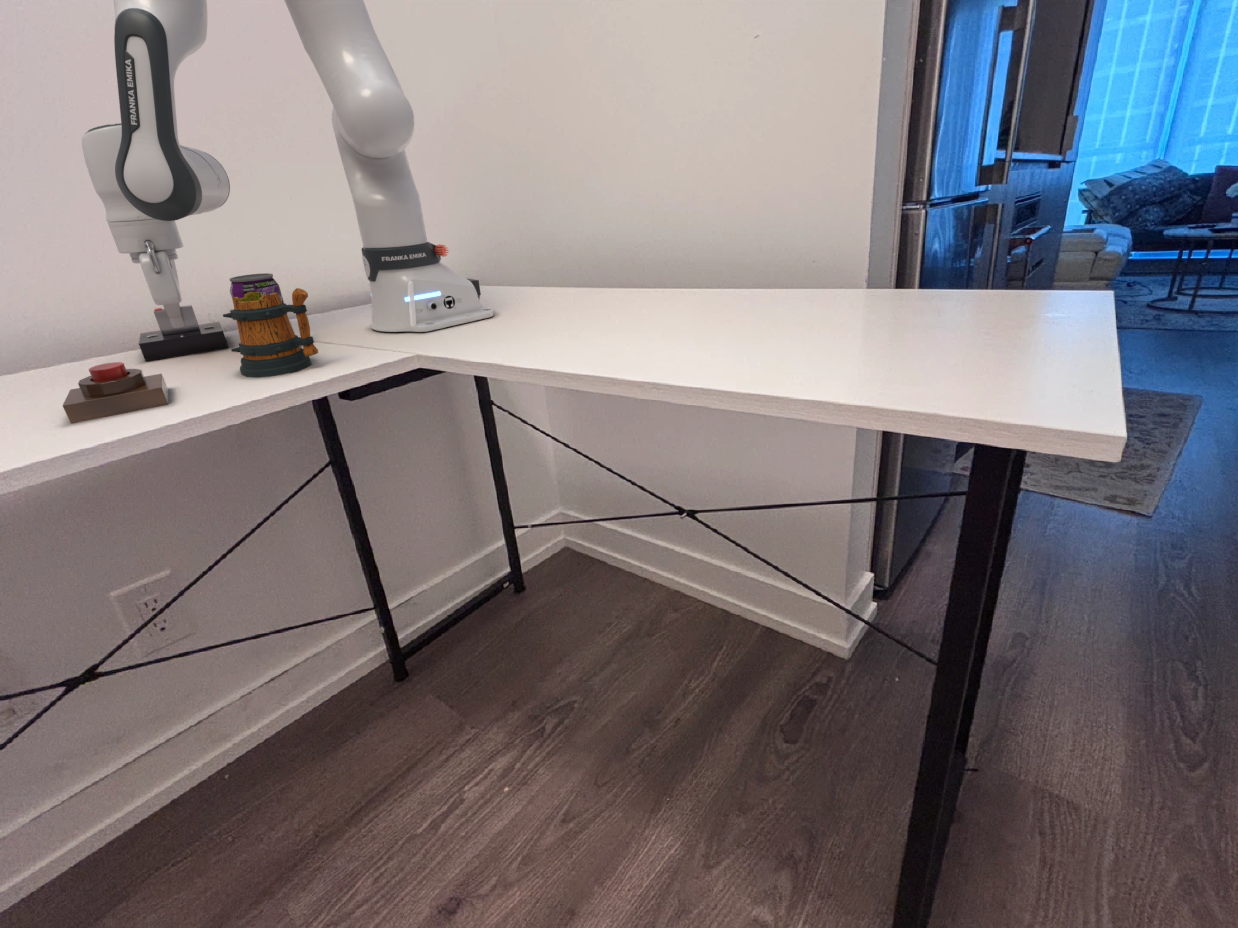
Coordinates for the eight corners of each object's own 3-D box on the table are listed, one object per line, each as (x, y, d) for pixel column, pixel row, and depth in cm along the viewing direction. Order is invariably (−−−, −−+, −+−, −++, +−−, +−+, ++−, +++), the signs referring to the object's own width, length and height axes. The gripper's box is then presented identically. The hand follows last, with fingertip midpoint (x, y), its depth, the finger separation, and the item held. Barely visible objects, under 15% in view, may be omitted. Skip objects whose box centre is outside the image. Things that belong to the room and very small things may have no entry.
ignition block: (168, 390, 86) (157, 362, 84) (168, 404, 80) (156, 374, 78) (77, 406, 81) (64, 377, 79) (70, 424, 75) (56, 392, 73)
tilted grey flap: (199, 328, 109) (191, 303, 107) (200, 329, 107) (191, 305, 106) (162, 333, 106) (153, 308, 104) (162, 335, 105) (152, 310, 103)
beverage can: (277, 356, 100) (254, 279, 95) (239, 356, 102) (215, 280, 96) (305, 344, 106) (285, 272, 101) (269, 344, 108) (248, 273, 103)
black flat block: (224, 337, 115) (218, 320, 113) (228, 348, 107) (222, 329, 106) (146, 350, 109) (139, 332, 108) (145, 361, 101) (138, 342, 100)
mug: (223, 378, 90) (195, 297, 85) (267, 358, 99) (245, 284, 94) (306, 377, 88) (283, 294, 83) (343, 357, 97) (325, 281, 92)
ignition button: (129, 373, 81) (124, 360, 81) (128, 379, 79) (122, 366, 78) (95, 379, 80) (89, 365, 79) (93, 385, 77) (87, 372, 76)
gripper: (171, 240, 94) (203, 331, 100) (170, 234, 109) (197, 312, 115) (121, 245, 91) (156, 338, 97) (127, 237, 106) (157, 318, 112)
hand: (178, 324), depth 106 cm, fingers open, 4 cm apart
